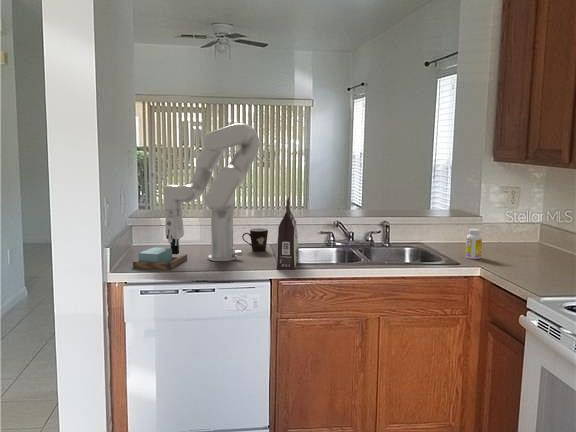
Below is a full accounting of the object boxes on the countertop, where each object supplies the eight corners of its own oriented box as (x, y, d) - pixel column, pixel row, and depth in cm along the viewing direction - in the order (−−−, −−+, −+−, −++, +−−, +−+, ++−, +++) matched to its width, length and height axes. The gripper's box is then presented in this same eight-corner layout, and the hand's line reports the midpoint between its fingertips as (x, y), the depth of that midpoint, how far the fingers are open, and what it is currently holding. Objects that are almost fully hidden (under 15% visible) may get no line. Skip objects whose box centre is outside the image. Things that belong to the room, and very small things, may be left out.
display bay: (187, 259, 227) (187, 254, 227) (170, 269, 209) (169, 263, 209) (152, 258, 230) (152, 252, 230) (133, 267, 212) (132, 261, 212)
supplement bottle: (481, 257, 237) (483, 229, 235) (480, 260, 231) (482, 231, 229) (466, 255, 240) (467, 227, 238) (464, 258, 234) (465, 230, 232)
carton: (172, 262, 223) (171, 248, 223) (157, 268, 212) (157, 254, 211) (154, 261, 226) (154, 247, 225) (139, 267, 214) (138, 252, 214)
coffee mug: (269, 249, 251) (269, 228, 250) (266, 252, 243) (266, 231, 241) (245, 248, 253) (245, 227, 251) (241, 251, 244) (241, 230, 243)
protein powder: (297, 269, 211) (297, 200, 208) (275, 269, 212) (275, 200, 208) (298, 260, 228) (299, 196, 224) (278, 260, 228) (278, 196, 224)
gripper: (174, 215, 222) (176, 257, 225) (187, 210, 237) (189, 250, 239) (158, 215, 223) (160, 257, 226) (172, 210, 238) (173, 250, 241)
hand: (175, 253), depth 233 cm, fingers closed
